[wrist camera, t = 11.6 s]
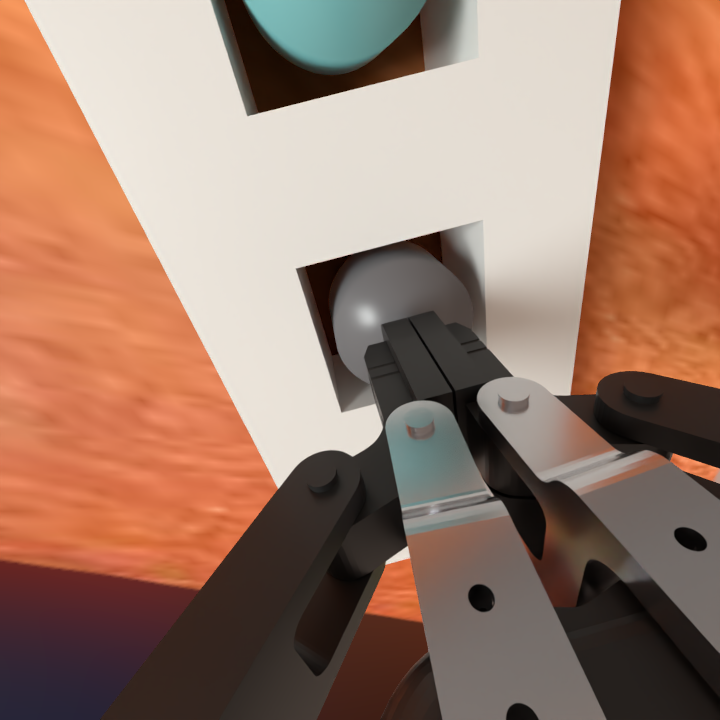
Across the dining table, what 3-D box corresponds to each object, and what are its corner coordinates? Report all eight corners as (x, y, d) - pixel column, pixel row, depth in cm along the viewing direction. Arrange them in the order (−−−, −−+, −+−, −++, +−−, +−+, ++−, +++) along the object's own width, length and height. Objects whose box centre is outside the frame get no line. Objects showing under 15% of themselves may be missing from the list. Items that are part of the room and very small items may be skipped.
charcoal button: (344, 364, 15) (352, 402, 13) (314, 258, 12) (318, 283, 10) (450, 336, 15) (476, 369, 13) (440, 225, 12) (469, 244, 10)
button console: (321, 512, 22) (326, 580, 19) (4, -202, 8) (-207, -445, 5) (514, 459, 22) (554, 518, 19) (535, -328, 8) (704, -651, 5)
